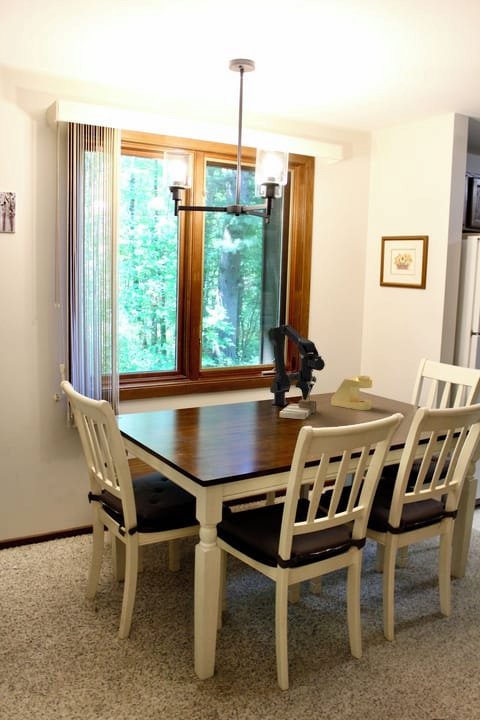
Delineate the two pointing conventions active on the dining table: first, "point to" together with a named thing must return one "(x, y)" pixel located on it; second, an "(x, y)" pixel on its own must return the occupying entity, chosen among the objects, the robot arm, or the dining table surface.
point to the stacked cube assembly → (308, 403)
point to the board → (295, 412)
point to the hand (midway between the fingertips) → (305, 399)
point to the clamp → (352, 393)
